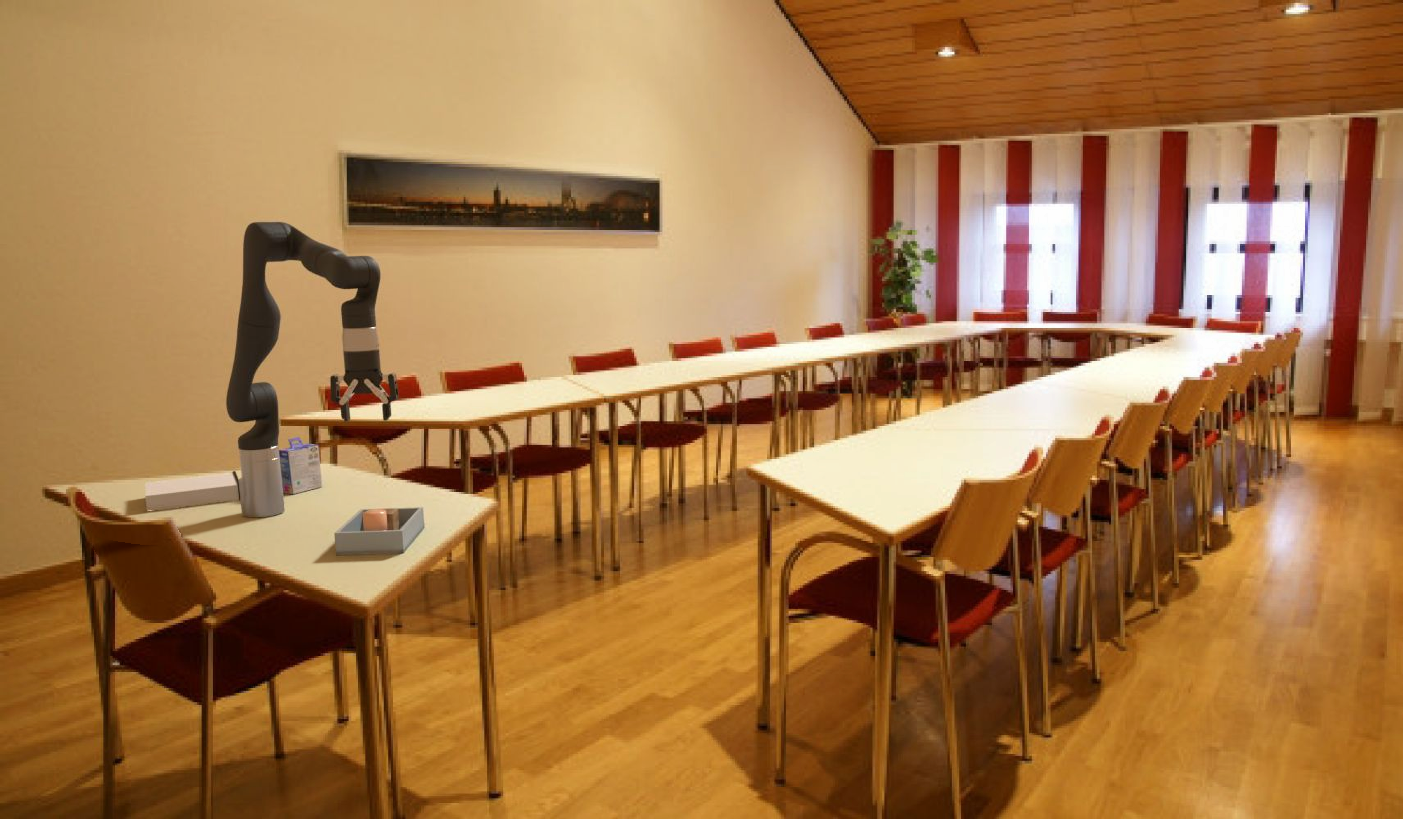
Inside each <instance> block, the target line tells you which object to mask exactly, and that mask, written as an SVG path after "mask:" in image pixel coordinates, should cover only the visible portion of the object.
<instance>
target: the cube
mask: <svg viewBox="0 0 1403 819" xmlns="http://www.w3.org/2000/svg"><path fill="white" fill-rule="evenodd" d="M398 508H399V507H393V509H384V508H382V509H383V510H386V515H387V528H388V530H399V529H400V527H399V514H398Z"/></svg>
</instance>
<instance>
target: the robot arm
mask: <svg viewBox="0 0 1403 819" xmlns="http://www.w3.org/2000/svg"><path fill="white" fill-rule="evenodd" d="M242 244H243V245H242V248H243V249H242V286H241V296H240V305H239V312H238V317H237V328H236V341H235V350H234V359H233V363H232V367H231V368H232V369H231V372H230V373H231V374H230V378H229V383H228V386H227V390H226V391H227V392H226V398H225V400H226V401H225V403H226V404H225V405H226V407H225V408H226V411H227V415H228V417H229V418H230V419H231V421H234V422H235V423H247V422H253V421H254V422H255V423H254V425H253V426H252V427H251V428H250V429H249V430H247V431H246V432H245V433H242V434H241V435H240V436H239V437H238V438H237V439H238V440H237V448H238V454H239V467H240V474H241V478H238V479H239V491H240V500H239V501H240V509H241V516H242V517H249V518H267V517H272V516H277V515H280V514H282V513H284V512H285V500H284V493H283V487H282V477H281V467H280V456H279V450H280V448H279V447H280V446H279V435H280V422H279V420H280V419H279V400H278V396H277V391H276V389H275V388H274V386H273V385H272V384H271V383H269V382H266V381H259V382H254V378H255V375H256V373H257V372H258V369H259V368H260V366H262V365H261V364H263V362H264V361H265V360H266V359H267V357H268V356H269V354H270V353H271V352H272V351H273V349H274V348H275V346H276V345H277V342H278V339H279V335H280V327H281V326H280V325H281V320H282V317H281V311H280V308H279V306H278V304H277V302H276V300H275V298H274V297H273V294H272V293H271V291H270V290H269V288H268V285H267V281H266V267H267V263H276V262H277V263H279V262H287V261H297V262H301V265H302V267H304V268H305V269H306V271H308V272H310V273H311V274H314V275H316V276H318V277H322V278H324V279H325V280H326V281H327V282H328V283H330V284H331V285H332V287H335V288H336V289H337V288H338V289H339V290H340V289H341V290H356V294H355V296H354V298H351V299H349V300H346V301H344V302H342V304H341V306H340V313H341V314H340V316H341V325H342V335H341V338H342V339H341V341H342V352H343V363H344V365H343V366H344V375H341V374H338V373H337V374H333V375H331V376H330V379H329V381H330V401H331V403H337V404H338V405H339V406H340V418H341V419H342V420H343V421H344V422H350V421H351V411H350V410H351V408H350V403H349V401H350V400H351V399H352V397H353V396H354V394H356V395H362V394H366V395H371V394H374V395H375V397H377V398H379V399H380V401H381V402H382V404H381V407H382V419H383V420H382V421H385V422H386V421H389V419H390V418H391V417H392V408H391V407H392V402H395V401H396V400H398V399H399V398H400V392H399V389H398V388H399V387H398V379H397V374H396V373H395V372H390V373H387V374H386V373H385V374H383V373H382V370H381V355H380V341H379V335H378V330H377V319H376V304H377V299H378V293H379V288H380V283H381V275H382V274H381V268H380V266H379V263H378V262H377V260H376V259H375V258H374V257H372V256H369V255H350V256H349V255H346V253H345V252H343V251H342V250H341V249H338V248H336V247H333V246H331V245H328V244H324V243H322V242H319V241H317V240H314V239H313V238H312V237H310V236H309V235H307V234H306V233H303V232H302V231H301V230H299V229H298V228H297V227H295V226H293V225H291V224H289V223H287V222H283V221H254V222H251V223H249V224H248V225H247V227H246V229H245V231H244V235H243V242H242ZM383 380H384V381H385V383H386V384H388V388H389V389H388V390H389V395H388V393H387V392H386V391H385V389H384V387H382V385H381V384H382V382H383ZM343 382H344V383H345V384H346V385H347V388H346V390H345V392H344V394H343V396H340V392H341V391H340V390H341V389H340V385H342V383H343Z"/></svg>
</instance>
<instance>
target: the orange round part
mask: <svg viewBox="0 0 1403 819" xmlns="http://www.w3.org/2000/svg"><path fill="white" fill-rule="evenodd" d="M374 509H375V510H368V511H365V512H363V524H364V531H384V530H388V528H387V515H386V510H383V509H384V508H374Z"/></svg>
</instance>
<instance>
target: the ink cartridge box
mask: <svg viewBox="0 0 1403 819" xmlns="http://www.w3.org/2000/svg"><path fill="white" fill-rule="evenodd" d="M287 440H288V442H289V443H288V444H289V445H290V447H285V448H281V449H279V456H280V467H281V477H282V487H283V494H284V493H285V494H289V495H295V494H299V493H303V492H307V491H310V490H315V489H319V488H323V479H322V469H321V460H320V448H319V445H318V444H313V443H303V442H302V440H301V437H298V436H297V437H294V438H289V439H287ZM294 441H296V442H295V443H292V442H294ZM297 441H298V442H297Z"/></svg>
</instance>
